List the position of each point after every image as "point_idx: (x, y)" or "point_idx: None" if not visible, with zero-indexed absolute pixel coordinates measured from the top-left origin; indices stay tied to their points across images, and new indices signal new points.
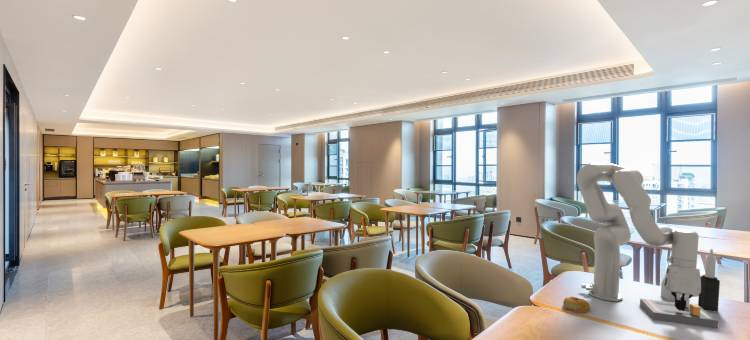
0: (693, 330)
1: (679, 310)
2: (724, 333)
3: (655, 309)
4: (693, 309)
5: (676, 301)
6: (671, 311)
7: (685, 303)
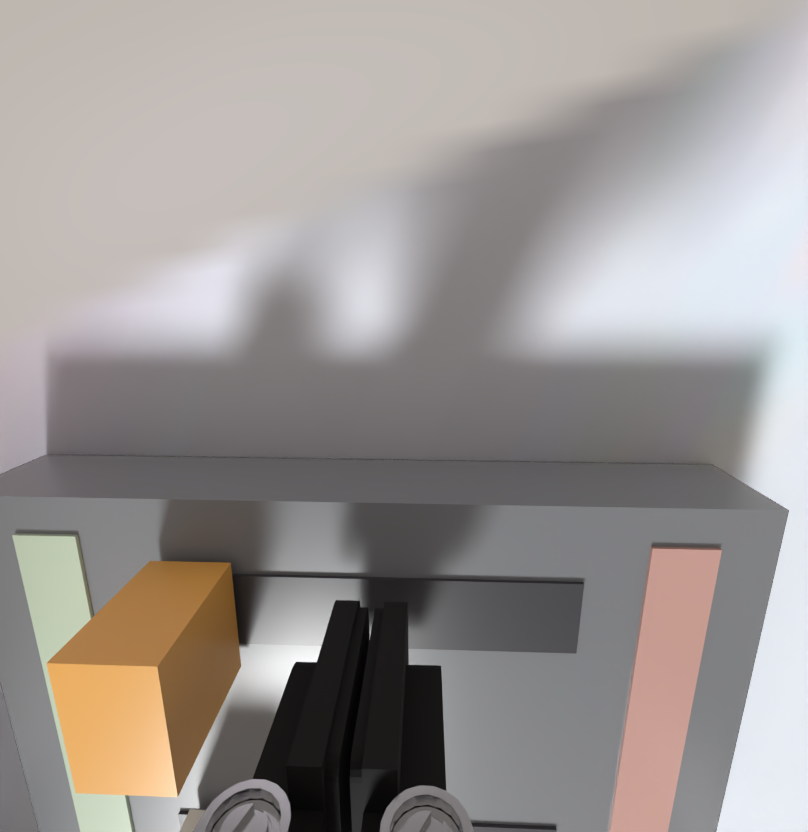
0: (344, 293)
1: (405, 604)
2: (15, 336)
3: (699, 622)
4: (190, 628)
5: (445, 771)
6: (486, 618)
7: (281, 737)
